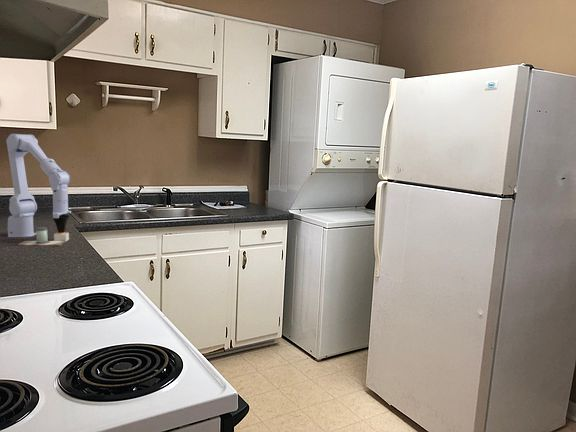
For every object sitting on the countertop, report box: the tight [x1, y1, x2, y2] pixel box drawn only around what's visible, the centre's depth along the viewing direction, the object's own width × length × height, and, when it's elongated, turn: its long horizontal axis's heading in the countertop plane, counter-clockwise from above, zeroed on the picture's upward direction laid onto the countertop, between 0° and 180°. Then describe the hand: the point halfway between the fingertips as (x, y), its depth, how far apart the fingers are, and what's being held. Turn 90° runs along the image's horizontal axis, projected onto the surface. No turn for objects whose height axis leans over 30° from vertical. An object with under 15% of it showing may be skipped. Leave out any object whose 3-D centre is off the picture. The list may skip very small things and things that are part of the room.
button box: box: [53, 232, 70, 242], centre depth 204 cm, size 5×5×3 cm
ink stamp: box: [35, 226, 49, 243], centre depth 196 cm, size 4×4×6 cm
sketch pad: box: [17, 240, 67, 247], centre depth 197 cm, size 16×8×1 cm, turn 99°
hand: (61, 232), depth 204 cm, fingers closed, pressing on done button
